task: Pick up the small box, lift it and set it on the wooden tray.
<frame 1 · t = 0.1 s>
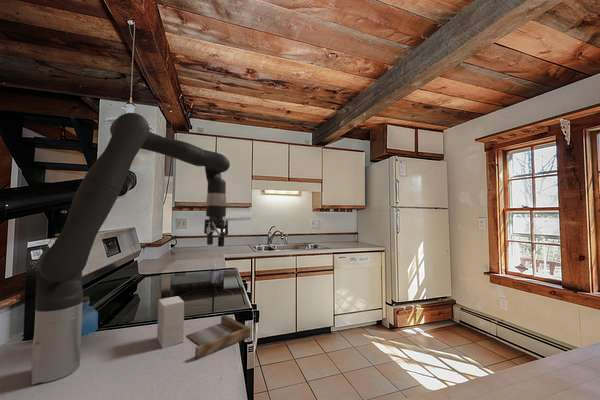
hand: (215, 245, 102), 29 cm above the worktop, tool pointing down, fingers open, 8 cm apart
perfume bottle: (81, 333, 90), on the worktop
small box: (170, 341, 85), on the worktop
wooden tray: (221, 336, 87), on the worktop
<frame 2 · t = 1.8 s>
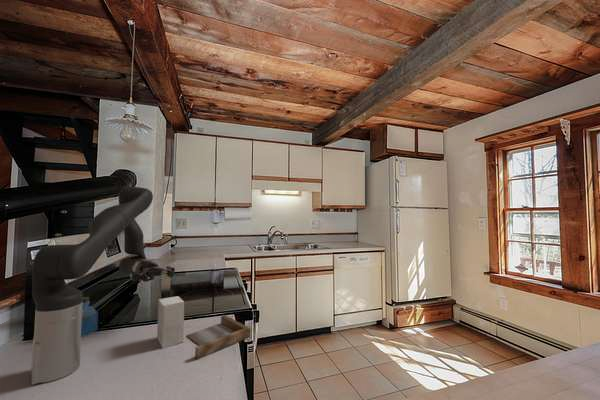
hand: (159, 276, 93), 19 cm above the worktop, tool horizontal, fingers open, 8 cm apart
nothing on the worktop moved.
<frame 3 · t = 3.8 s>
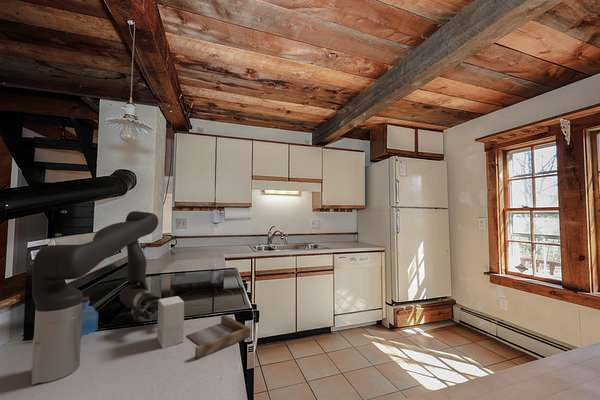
hand: (162, 313, 90), 7 cm above the worktop, tool horizontal, fingers open, 8 cm apart
nothing on the worktop moved.
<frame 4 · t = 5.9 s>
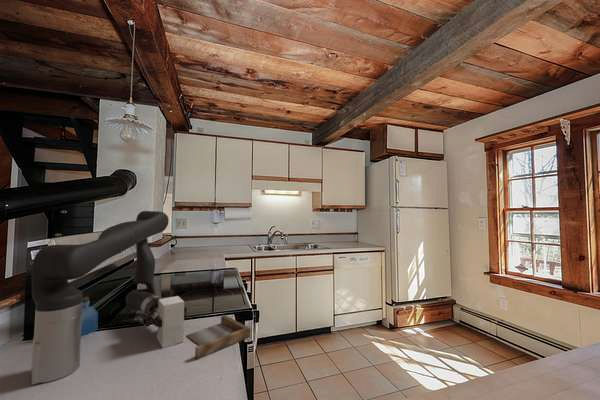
hand: (173, 320, 84), 7 cm above the worktop, tool horizontal, fingers closed on small box, 7 cm apart
small box: (170, 341, 85), on the worktop, touching gripper
everything else where it was.
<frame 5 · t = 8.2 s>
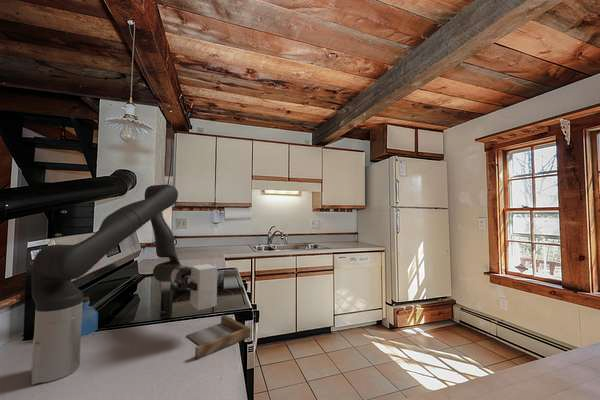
hand: (207, 285, 87), 18 cm above the worktop, tool horizontal, fingers closed on small box, 7 cm apart
small box: (203, 305, 88), point 10 cm above the worktop, touching gripper
everything else where it was.
when the fingers open (9 cm above the worktop, at t = 10.9 s): small box drops 1 cm, resting on wooden tray.
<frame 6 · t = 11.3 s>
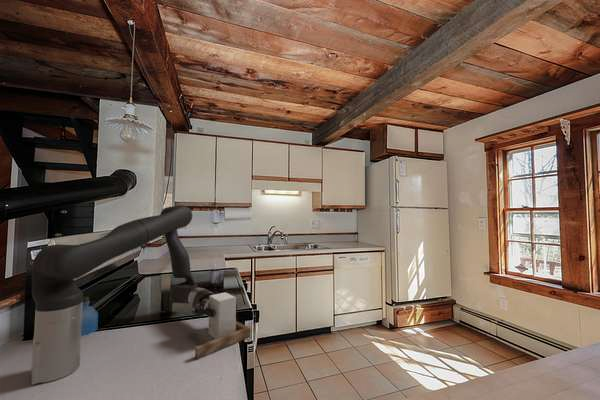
hand: (225, 310, 87), 9 cm above the worktop, tool horizontal, fingers open, 8 cm apart
small box: (221, 335, 88), resting on wooden tray
everything else where it was.
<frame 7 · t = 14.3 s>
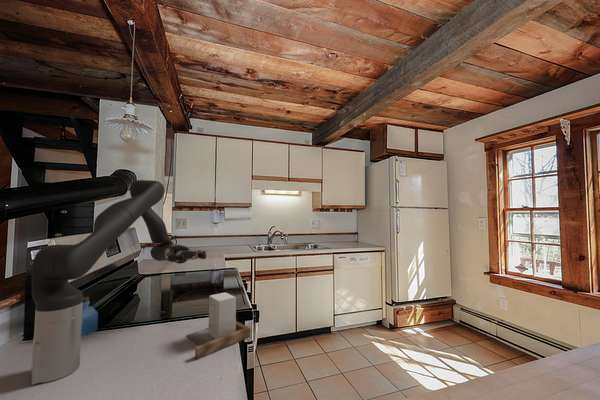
hand: (194, 257, 99), 25 cm above the worktop, tool horizontal, fingers open, 8 cm apart
nothing on the worktop moved.
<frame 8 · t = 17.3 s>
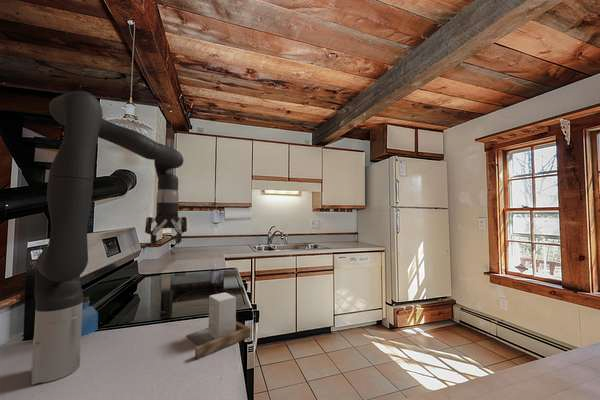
hand: (166, 244, 98), 30 cm above the worktop, tool pointing down, fingers open, 8 cm apart
nothing on the worktop moved.
at the end: small box 0.3 cm off-centre on the wooden tray, point 0.2 cm above the wooden tray's base; small box tilted 0°; the gripper is holding nothing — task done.
